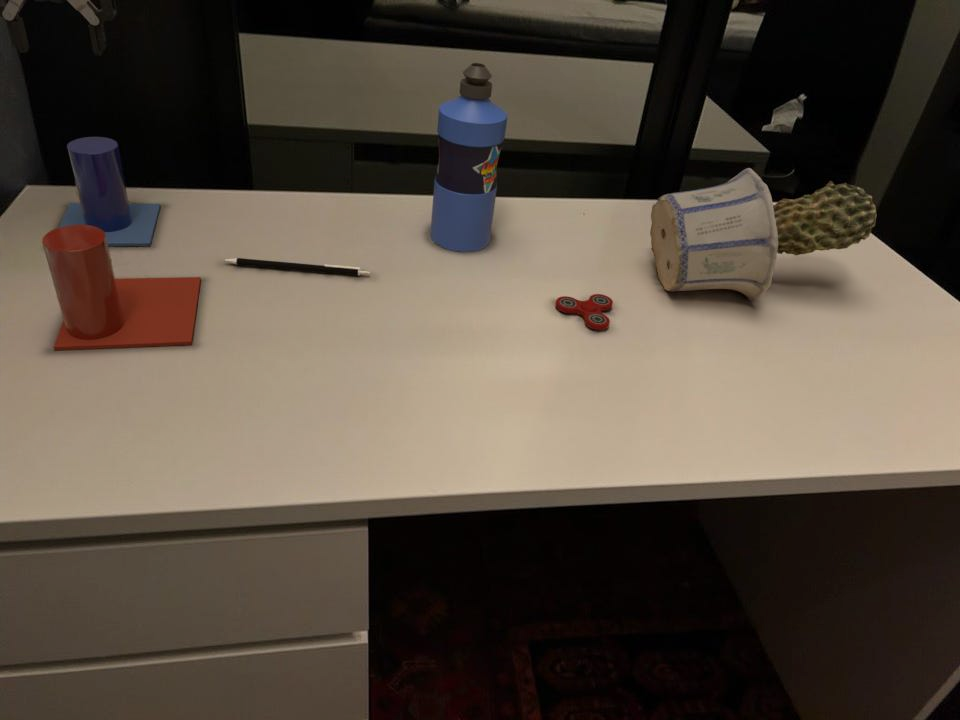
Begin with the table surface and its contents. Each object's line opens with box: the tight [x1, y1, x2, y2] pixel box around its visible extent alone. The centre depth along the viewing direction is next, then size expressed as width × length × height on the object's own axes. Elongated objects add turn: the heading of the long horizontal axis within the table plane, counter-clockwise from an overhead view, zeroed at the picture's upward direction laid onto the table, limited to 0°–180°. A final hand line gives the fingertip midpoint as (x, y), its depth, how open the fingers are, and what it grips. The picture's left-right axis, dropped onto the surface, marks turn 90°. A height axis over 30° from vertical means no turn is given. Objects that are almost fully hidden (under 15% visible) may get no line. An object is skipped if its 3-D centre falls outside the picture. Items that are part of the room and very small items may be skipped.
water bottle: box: [429, 62, 508, 253], centre depth 103 cm, size 9×9×25 cm
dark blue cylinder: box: [66, 136, 132, 232], centre depth 99 cm, size 6×6×11 cm
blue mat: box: [57, 202, 161, 248], centre depth 102 cm, size 12×12×1 cm
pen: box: [223, 257, 371, 277], centre depth 98 cm, size 1×19×1 cm, turn 91°
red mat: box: [53, 276, 202, 351], centre depth 87 cm, size 14×14×1 cm
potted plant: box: [649, 167, 878, 300], centre depth 102 cm, size 18×18×30 cm
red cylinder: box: [41, 225, 124, 340], centre depth 80 cm, size 6×6×11 cm
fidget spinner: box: [555, 293, 614, 331], centre depth 97 cm, size 8×7×1 cm
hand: (61, 52), depth 94 cm, fingers open, 8 cm apart
